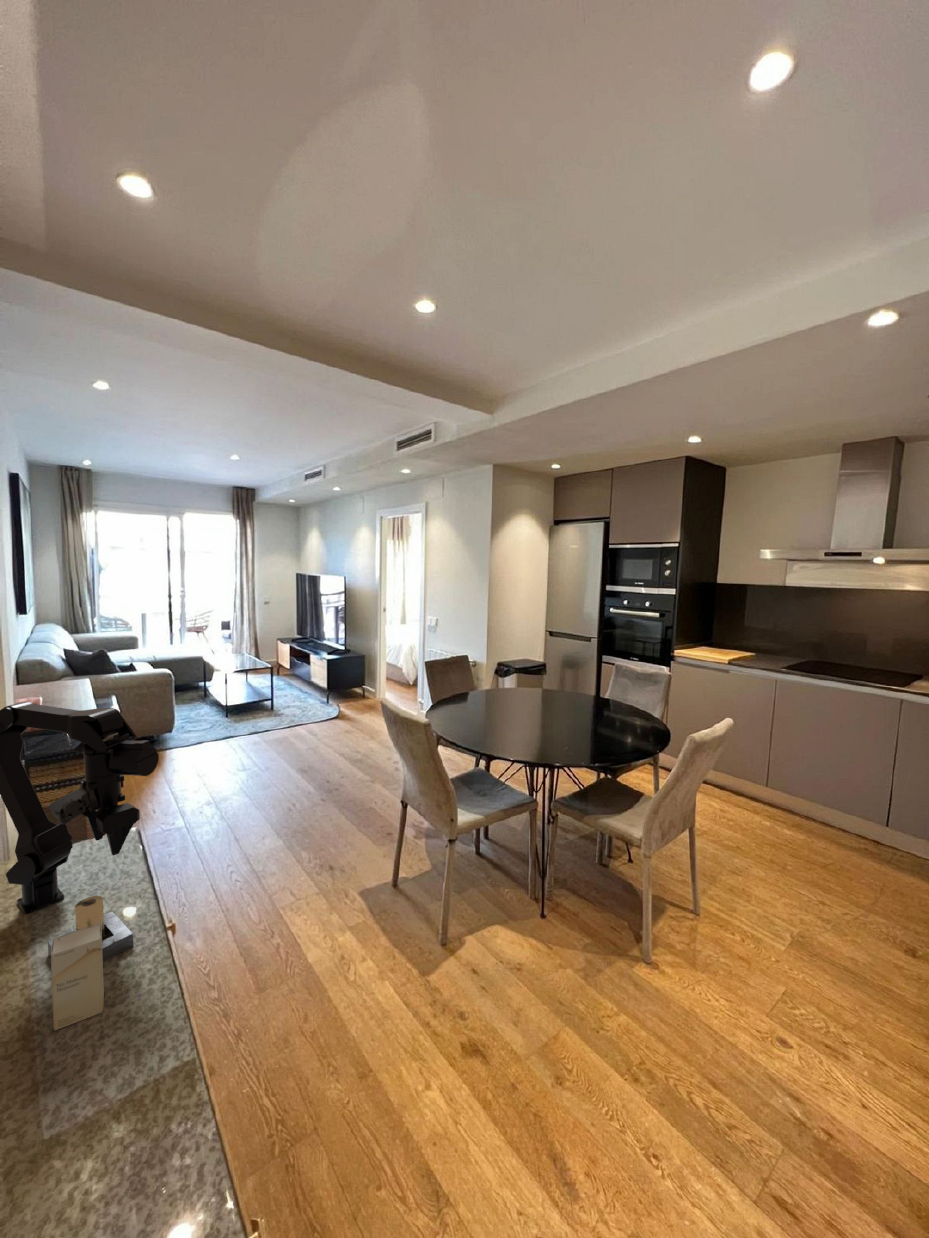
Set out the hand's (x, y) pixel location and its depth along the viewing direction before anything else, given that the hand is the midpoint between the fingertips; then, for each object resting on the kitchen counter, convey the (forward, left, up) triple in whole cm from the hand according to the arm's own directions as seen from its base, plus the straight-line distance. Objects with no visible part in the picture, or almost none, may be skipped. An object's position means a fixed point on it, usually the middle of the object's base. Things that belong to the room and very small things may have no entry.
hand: (107, 846), depth 101 cm
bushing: (+11, -7, -13) cm, 18 cm away
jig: (+11, -7, -13) cm, 18 cm away
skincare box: (+25, -12, -13) cm, 31 cm away
